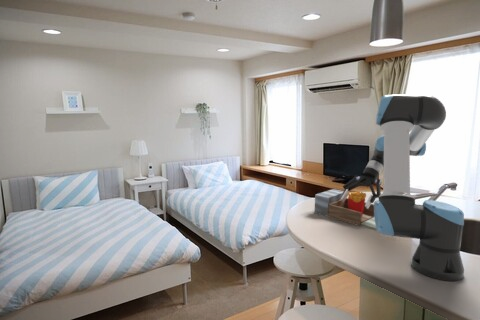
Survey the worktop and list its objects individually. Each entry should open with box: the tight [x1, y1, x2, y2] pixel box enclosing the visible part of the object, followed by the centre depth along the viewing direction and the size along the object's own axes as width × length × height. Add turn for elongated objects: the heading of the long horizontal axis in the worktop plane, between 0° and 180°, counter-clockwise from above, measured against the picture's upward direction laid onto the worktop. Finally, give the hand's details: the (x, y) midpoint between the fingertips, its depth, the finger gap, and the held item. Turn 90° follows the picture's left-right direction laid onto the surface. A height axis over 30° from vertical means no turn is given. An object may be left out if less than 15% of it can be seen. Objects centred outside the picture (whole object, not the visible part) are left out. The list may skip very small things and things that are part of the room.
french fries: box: [347, 191, 367, 216], centre depth 154 cm, size 8×4×12 cm, turn 76°
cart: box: [314, 188, 378, 231], centre depth 156 cm, size 18×34×10 cm, turn 41°
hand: (353, 203), depth 153 cm, fingers open, 13 cm apart
